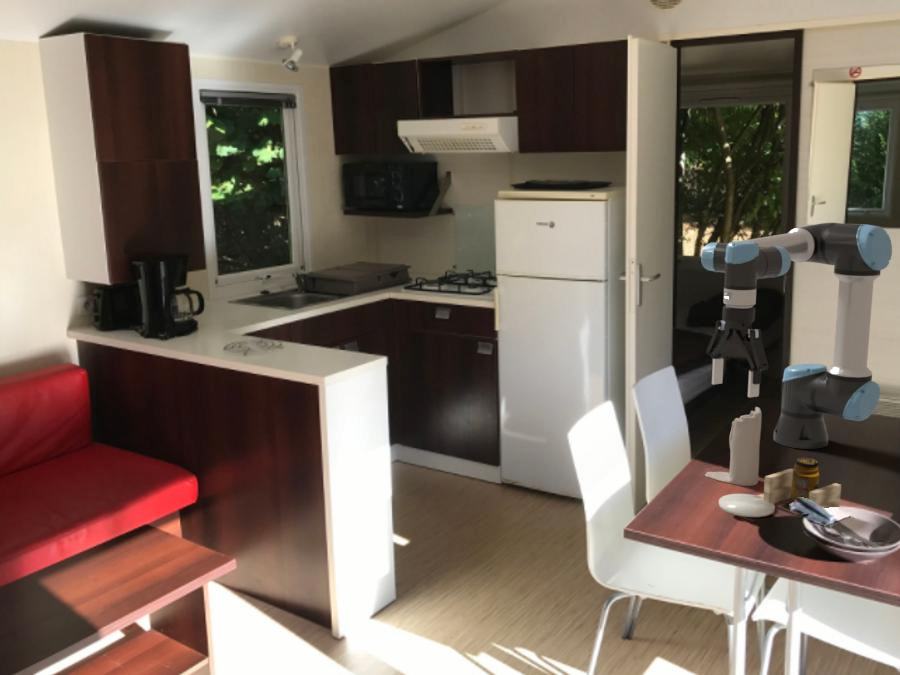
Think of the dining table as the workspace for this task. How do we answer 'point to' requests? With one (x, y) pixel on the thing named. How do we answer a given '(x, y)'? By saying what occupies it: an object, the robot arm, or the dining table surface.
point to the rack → (781, 484)
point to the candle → (743, 451)
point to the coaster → (746, 505)
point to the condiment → (803, 480)
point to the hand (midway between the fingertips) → (734, 390)
